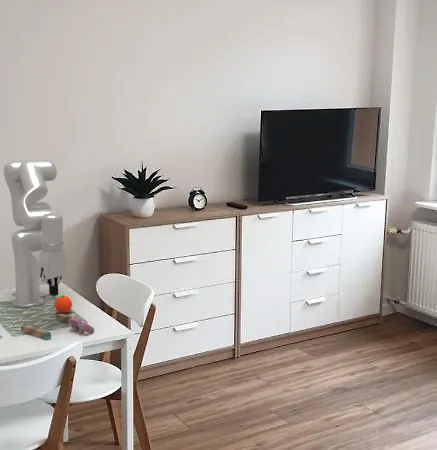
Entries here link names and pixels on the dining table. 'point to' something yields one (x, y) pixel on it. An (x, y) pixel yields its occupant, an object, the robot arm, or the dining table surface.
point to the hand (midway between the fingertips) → (53, 294)
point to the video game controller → (80, 325)
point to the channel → (42, 333)
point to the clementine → (63, 304)
